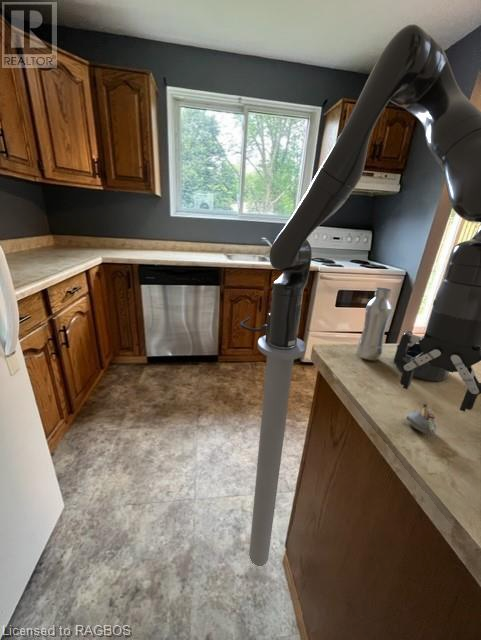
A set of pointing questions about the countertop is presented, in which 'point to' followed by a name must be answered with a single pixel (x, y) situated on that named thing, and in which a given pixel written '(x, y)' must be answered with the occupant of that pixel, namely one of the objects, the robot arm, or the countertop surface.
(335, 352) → the countertop surface
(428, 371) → the pan
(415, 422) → the figurine
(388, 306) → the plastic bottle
